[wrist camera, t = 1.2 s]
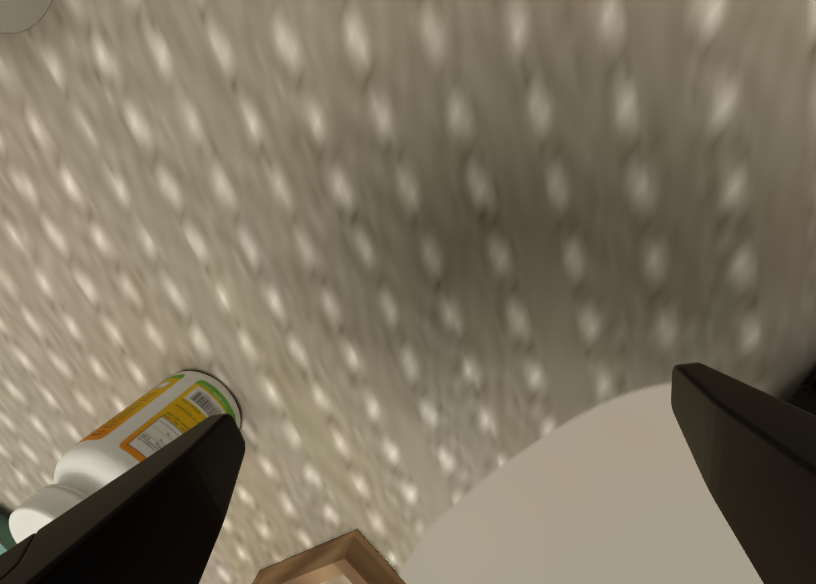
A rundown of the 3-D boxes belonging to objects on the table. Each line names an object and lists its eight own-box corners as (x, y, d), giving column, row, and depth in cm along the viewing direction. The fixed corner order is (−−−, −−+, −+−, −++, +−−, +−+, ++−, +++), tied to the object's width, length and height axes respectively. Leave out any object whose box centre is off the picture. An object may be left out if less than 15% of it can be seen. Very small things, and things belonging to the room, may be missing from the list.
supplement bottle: (169, 428, 28) (8, 567, 20) (162, 357, 26) (-21, 478, 18) (243, 453, 27) (110, 610, 19) (243, 382, 25) (92, 522, 17)
